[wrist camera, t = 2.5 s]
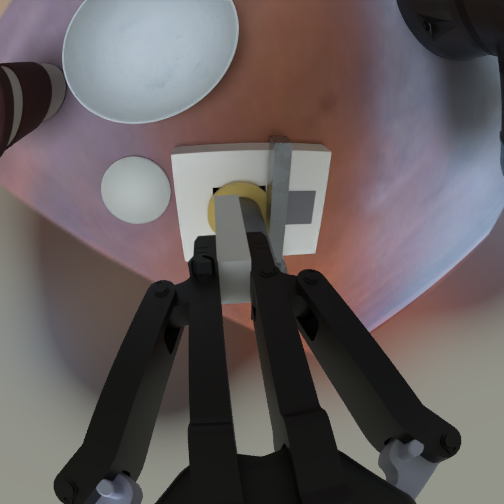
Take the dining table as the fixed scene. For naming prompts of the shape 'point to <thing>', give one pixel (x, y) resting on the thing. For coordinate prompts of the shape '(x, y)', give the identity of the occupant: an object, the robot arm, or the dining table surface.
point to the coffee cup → (27, 98)
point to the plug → (245, 207)
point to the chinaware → (147, 55)
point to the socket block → (256, 172)
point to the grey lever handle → (278, 194)
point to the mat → (135, 189)
